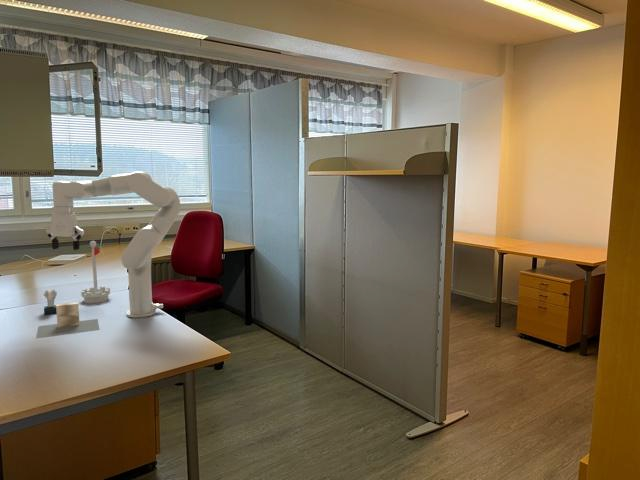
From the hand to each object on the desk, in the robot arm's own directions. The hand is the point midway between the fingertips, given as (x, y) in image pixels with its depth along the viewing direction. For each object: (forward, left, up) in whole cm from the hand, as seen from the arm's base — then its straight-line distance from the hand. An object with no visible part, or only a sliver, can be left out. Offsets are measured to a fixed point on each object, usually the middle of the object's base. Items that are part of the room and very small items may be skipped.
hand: (66, 249), depth 204 cm
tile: (+1, +16, -30) cm, 34 cm away
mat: (+1, +20, -30) cm, 36 cm away
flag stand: (-11, -24, -30) cm, 40 cm away
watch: (+8, -8, -30) cm, 32 cm away
